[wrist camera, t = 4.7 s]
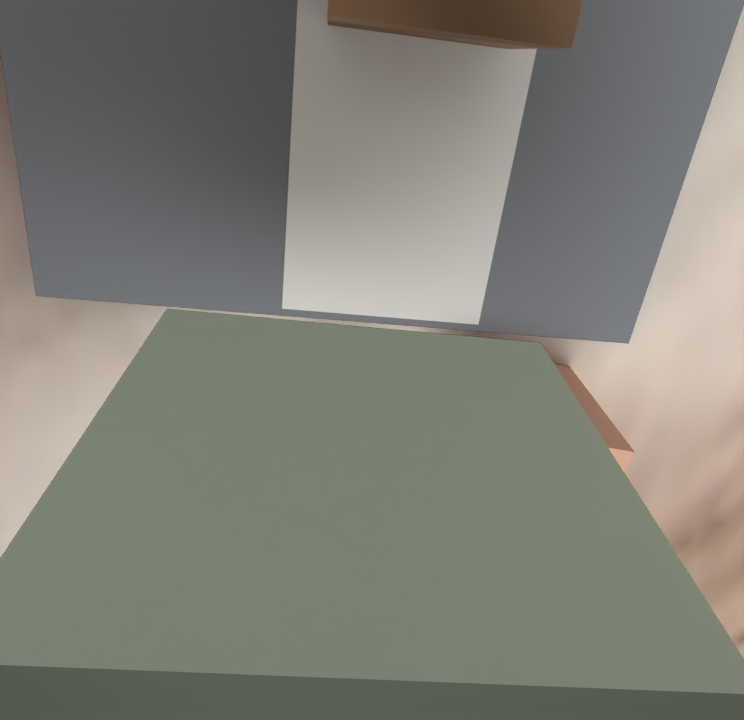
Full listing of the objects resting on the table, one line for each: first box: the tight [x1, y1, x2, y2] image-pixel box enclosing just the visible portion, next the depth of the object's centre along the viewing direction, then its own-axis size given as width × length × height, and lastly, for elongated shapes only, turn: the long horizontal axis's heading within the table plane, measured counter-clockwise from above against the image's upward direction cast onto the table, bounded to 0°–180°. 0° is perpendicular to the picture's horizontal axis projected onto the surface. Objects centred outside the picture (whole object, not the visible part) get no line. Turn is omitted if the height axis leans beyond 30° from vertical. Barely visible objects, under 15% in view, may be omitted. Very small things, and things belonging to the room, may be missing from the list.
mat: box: [0, 0, 744, 343], centre depth 15 cm, size 18×14×1 cm
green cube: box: [0, 309, 744, 720], centre depth 6 cm, size 4×4×4 cm
